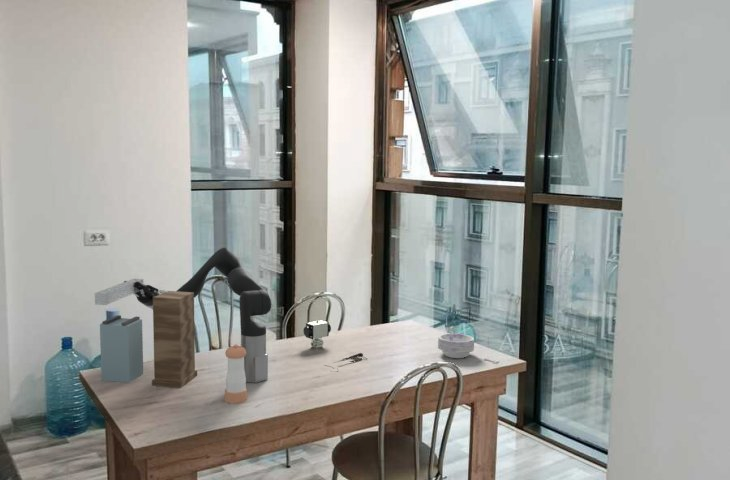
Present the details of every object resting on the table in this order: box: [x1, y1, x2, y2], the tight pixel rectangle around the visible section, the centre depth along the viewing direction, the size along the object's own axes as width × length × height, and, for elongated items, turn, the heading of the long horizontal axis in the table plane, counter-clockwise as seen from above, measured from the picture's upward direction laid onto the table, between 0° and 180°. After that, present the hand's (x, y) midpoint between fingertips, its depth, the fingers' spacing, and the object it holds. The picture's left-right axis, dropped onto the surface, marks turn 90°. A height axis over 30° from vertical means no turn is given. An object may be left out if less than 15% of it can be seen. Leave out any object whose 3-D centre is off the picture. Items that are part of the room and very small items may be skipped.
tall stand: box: [151, 290, 198, 389], centre depth 241 cm, size 14×11×32 cm
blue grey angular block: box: [99, 314, 144, 384], centre depth 244 cm, size 10×11×22 cm
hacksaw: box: [343, 352, 368, 363], centre depth 268 cm, size 24×10×2 cm, turn 134°
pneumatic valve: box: [302, 319, 332, 349], centre depth 289 cm, size 6×12×12 cm, turn 130°
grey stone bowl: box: [437, 333, 475, 359], centre depth 281 cm, size 15×15×8 cm
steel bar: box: [94, 278, 144, 306], centre depth 241 cm, size 26×4×4 cm, turn 170°
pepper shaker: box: [224, 344, 248, 404], centre depth 224 cm, size 7×7×19 cm
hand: (130, 283), depth 248 cm, fingers closed on steel bar, 4 cm apart
